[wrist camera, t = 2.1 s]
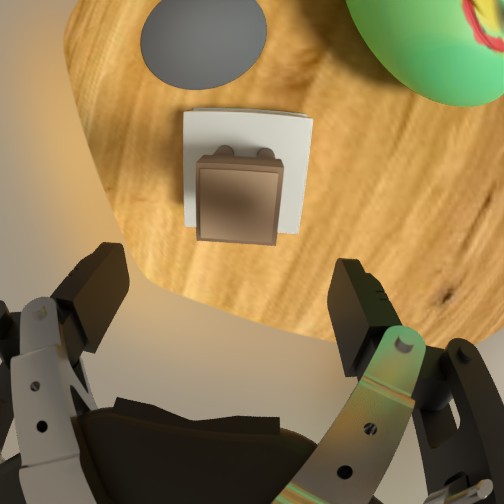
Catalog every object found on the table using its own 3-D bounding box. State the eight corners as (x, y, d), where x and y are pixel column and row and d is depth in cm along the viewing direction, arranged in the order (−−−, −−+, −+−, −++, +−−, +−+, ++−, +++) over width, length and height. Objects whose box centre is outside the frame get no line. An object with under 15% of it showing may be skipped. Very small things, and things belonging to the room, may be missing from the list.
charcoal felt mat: (148, -9, 17) (147, -11, 16) (270, -16, 17) (270, -18, 17) (139, 93, 23) (137, 93, 22) (262, 91, 23) (262, 91, 23)
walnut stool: (215, 143, 21) (194, 163, 14) (276, 147, 21) (284, 168, 15) (214, 200, 23) (195, 242, 17) (271, 203, 23) (275, 247, 17)
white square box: (195, 107, 24) (181, 109, 19) (305, 114, 24) (315, 116, 20) (194, 207, 29) (182, 228, 25) (294, 214, 29) (300, 236, 25)
